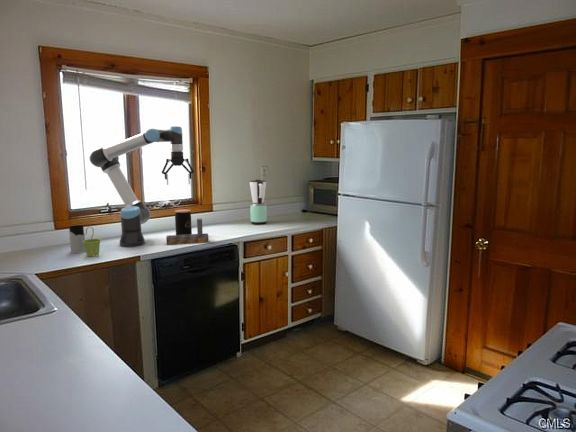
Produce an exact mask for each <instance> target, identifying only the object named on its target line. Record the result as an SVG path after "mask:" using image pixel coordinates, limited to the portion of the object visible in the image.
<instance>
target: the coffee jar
mask: <svg viewBox="0 0 576 432" xmlns="http://www.w3.org/2000/svg"><path fill="white" fill-rule="evenodd" d="M191 210H192V209H187V208H185V209H183V208H182V209H176V210H174V213H175V214H174V221H175V222H174V224H175V235H187V234H193V231H192V216H191V215H192V214H191Z"/></svg>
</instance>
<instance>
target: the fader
mask: <svg viewBox="0 0 576 432" xmlns="http://www.w3.org/2000/svg"><path fill="white" fill-rule="evenodd" d="M196 229H197V230H196V231H197V233H196V234H198V235H203V234H204V233H203V218H196Z"/></svg>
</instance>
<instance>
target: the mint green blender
mask: <svg viewBox="0 0 576 432" xmlns="http://www.w3.org/2000/svg"><path fill="white" fill-rule="evenodd" d="M266 187H267V180H264V179H263V180H262V179H254V180H249V188H250V194H251V201H252V202H251V203H250V205H249V206H250V208H249V210H250V211H249V213H250V214H249V215H250V217H249V218H250V223H251V224H253V225H255V226H256V225H257V224H258V225H260V224H263V225H267V221H268V219H267V218H268V217H267V215H268V214H267V212H268V211H267V203H266V202H265V197H266V196H265V195H266Z"/></svg>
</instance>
